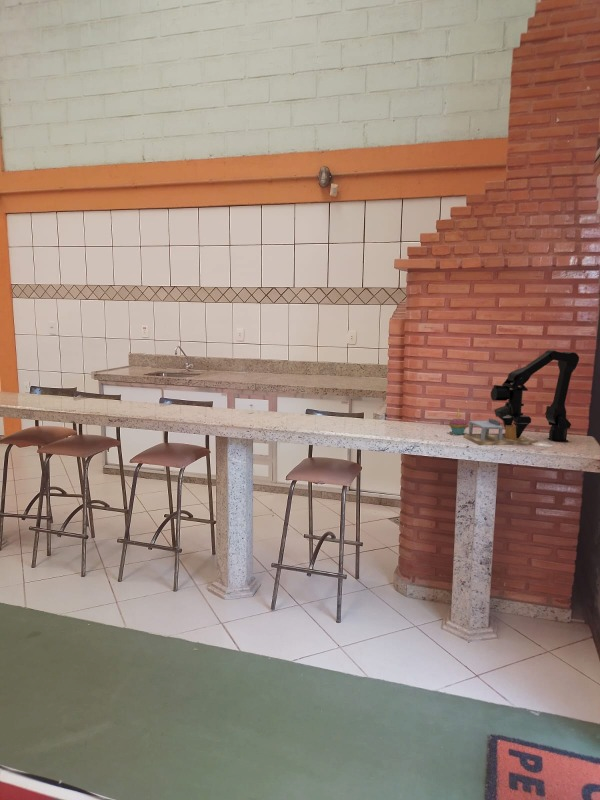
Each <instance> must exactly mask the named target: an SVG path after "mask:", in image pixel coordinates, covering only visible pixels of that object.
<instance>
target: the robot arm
mask: <svg viewBox="0 0 600 800" xmlns="http://www.w3.org/2000/svg"><path fill="white" fill-rule="evenodd" d="M552 361H556V362H557V366H558V370H559V374H558V376H557V377H558V378H557V382H556V386H555V391H554V395H553V401H552V403H551V405H547V406H546V410H545V413H544V415H545V419H546V421H547V422H548V425H549V426H550V429H549V431H548V437H547V440H548V441H553V442H555V443H559V442H562V443H563V442H569V440H568V439H567V437H568V429H570V428H571V426H572V423H571V422H570V421H569V420H568V419H567V408H566V401H567V396H568V391H569V386H570V381H571V377H572V373H573V372H574V371H575V369H576V368H577V366H578V365H579V361H580V356H579V354H578V353H577V352H572V351H562V352H560V351H556V350H553V349H548V350H546V351H545V352H544V353H543V354H541V355H539V356H538V357H536V358H535V359H534V360H533V361H531V362H530V363H528V364H526V365H525V366H523V367H521V368H518V369H515V370H513V371H510V373H508V375H507V378H506V379H505V381H504V382H503V383H502V384H500V385H498V384H493V387H492V389H491V391H490V398H491V400H492V401H494V402H495V401H496V402H497V401H500V402H501V401H503V402H505V401H506V402H505V405H504V406H500V407H497V408H495V409H494V410H493V411H494V413H495V417H497V418H499V419H500V420H501V421H502V423H503V428H505V427H506V425H515V426H516V438H519V437H520V436H521V435H523V432H524V430H526V428H527V427H528V425H530V424H531V423H532V417H530V416H529V415H524V413H523V412H522V407H524V406H525V404H524V403H523V395H524V391H525V392H527V391H529V389H528V388H527V387H526V385H525V384H526V383H527V382H528V381H529V380H530V378H531V377H532V376H533V375H534V374H535V373H537V372H538V371H539V370H542V368H544V367H545V366H547V365H548V364H549V363H551V362H552Z"/></svg>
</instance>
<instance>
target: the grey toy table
mask: <svg viewBox="0 0 600 800" xmlns="http://www.w3.org/2000/svg"><path fill="white" fill-rule="evenodd" d="M474 426H476V427H478V428H481V433H480V434H481V440H482V441H485V434H486V435H489V434H490V430H492V429H493V430H498V433H497V434H498V440H502V433H503V431H504V426H502V425H501V421H498V420H496V419H493V418H488V420H469V421H468V434H469V435H472V434H473V428H474Z"/></svg>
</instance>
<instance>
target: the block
mask: <svg viewBox="0 0 600 800" xmlns="http://www.w3.org/2000/svg"><path fill="white" fill-rule="evenodd" d="M504 433H505V438H507V439H520V437H519V438H516V426H515V424H512V425H506V427H504Z"/></svg>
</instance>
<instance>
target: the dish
mask: <svg viewBox="0 0 600 800" xmlns="http://www.w3.org/2000/svg"><path fill="white" fill-rule="evenodd" d="M538 441H539V440H538ZM530 446H534V447H538V448H553V447H554V446H555V444H554V443H552V442H547V441H539V443H531V445H530Z"/></svg>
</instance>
